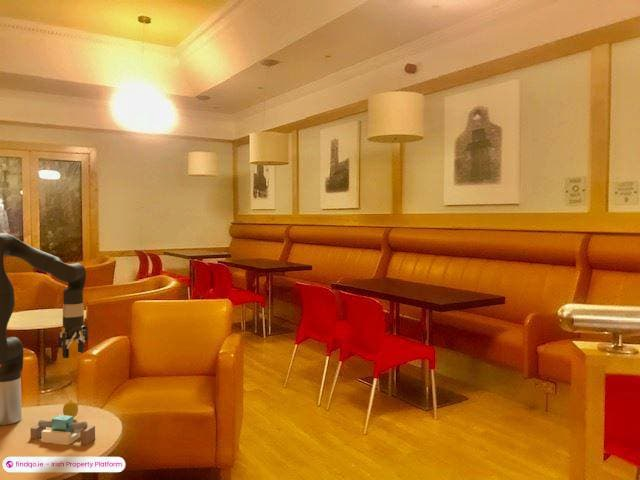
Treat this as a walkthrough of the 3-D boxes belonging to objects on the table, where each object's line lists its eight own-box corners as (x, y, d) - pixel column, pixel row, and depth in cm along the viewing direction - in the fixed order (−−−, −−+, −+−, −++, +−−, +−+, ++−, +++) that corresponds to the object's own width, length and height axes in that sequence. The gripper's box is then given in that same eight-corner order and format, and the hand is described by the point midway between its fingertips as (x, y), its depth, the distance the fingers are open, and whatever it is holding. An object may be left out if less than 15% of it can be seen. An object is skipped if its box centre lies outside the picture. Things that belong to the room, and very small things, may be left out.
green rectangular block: (51, 434, 192) (51, 418, 192) (59, 430, 196) (59, 414, 196) (66, 436, 191) (66, 420, 191) (73, 431, 195) (73, 416, 195)
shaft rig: (26, 440, 192) (26, 420, 192) (43, 430, 201) (43, 411, 200) (83, 447, 187) (82, 427, 187) (98, 436, 196) (98, 417, 195)
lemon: (81, 417, 214) (80, 398, 213) (73, 422, 208) (73, 402, 208) (68, 416, 214) (67, 397, 214) (60, 421, 209) (59, 402, 208)
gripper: (77, 310, 214) (77, 349, 215) (51, 317, 200) (52, 359, 201) (93, 311, 212) (93, 351, 213) (68, 318, 198) (69, 360, 199)
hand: (73, 355), depth 207 cm, fingers open, 8 cm apart
